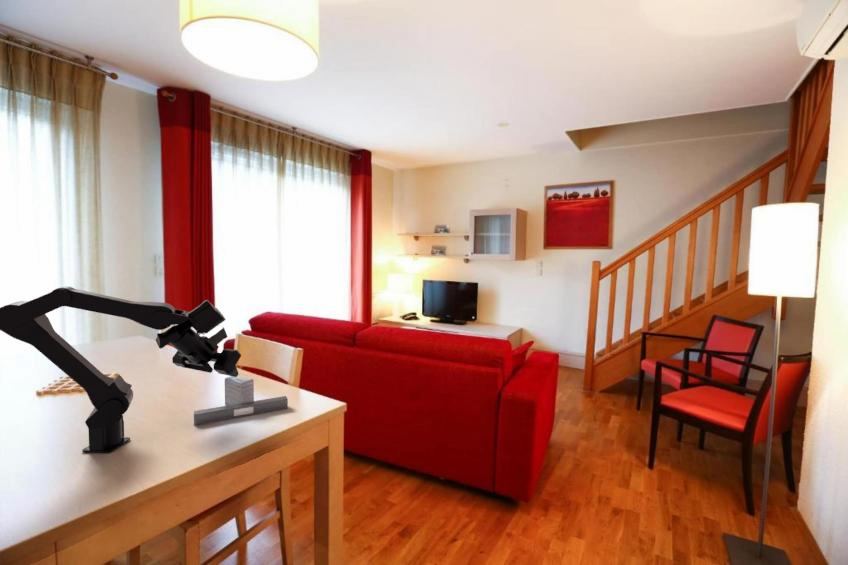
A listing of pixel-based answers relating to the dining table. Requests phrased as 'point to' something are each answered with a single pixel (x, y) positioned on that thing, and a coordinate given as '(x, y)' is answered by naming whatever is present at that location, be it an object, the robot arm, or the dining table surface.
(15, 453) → the dining table surface
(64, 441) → the dining table surface
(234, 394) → the medicine box
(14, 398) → the dining table surface
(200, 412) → the rail
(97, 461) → the dining table surface
